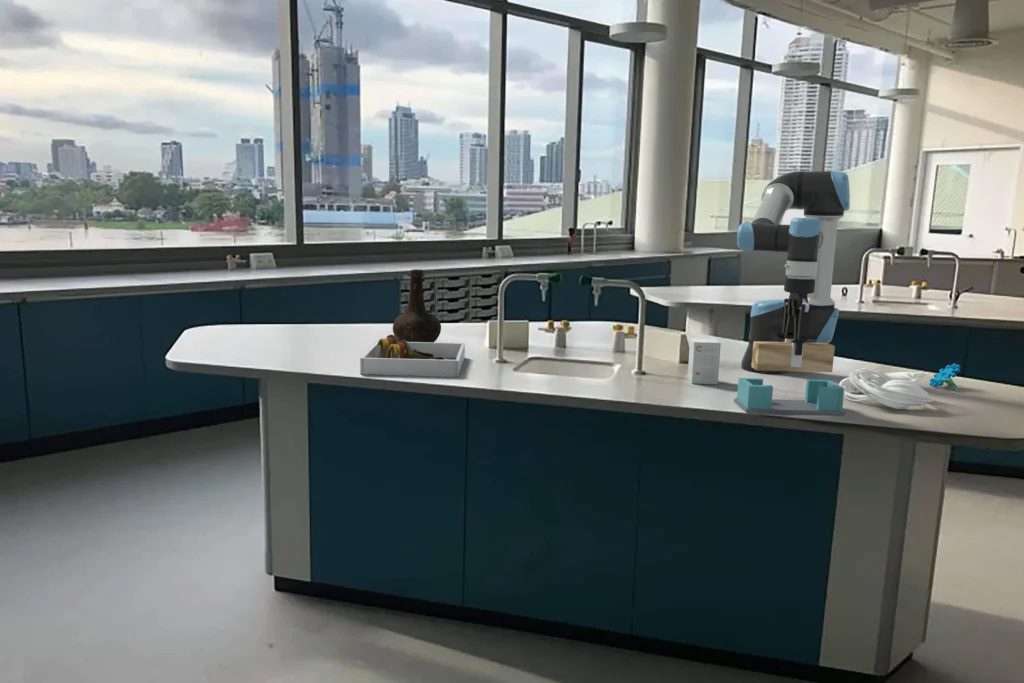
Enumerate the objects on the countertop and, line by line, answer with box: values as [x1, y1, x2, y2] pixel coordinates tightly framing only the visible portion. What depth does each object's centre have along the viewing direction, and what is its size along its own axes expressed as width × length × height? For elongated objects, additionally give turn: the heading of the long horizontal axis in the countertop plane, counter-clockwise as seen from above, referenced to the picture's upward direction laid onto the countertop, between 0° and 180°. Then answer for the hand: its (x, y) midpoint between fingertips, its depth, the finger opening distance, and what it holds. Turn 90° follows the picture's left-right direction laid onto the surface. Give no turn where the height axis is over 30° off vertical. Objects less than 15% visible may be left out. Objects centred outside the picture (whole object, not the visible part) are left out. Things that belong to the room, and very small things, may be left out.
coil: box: [838, 367, 934, 410], centre depth 213 cm, size 25×24×9 cm
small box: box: [687, 338, 722, 385], centre depth 231 cm, size 8×6×13 cm
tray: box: [359, 340, 466, 378], centre depth 244 cm, size 29×30×5 cm
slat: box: [751, 341, 836, 373], centre depth 201 cm, size 4×20×7 cm, turn 90°
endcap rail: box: [733, 377, 846, 416], centre depth 203 cm, size 11×26×7 cm, turn 90°
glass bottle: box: [392, 268, 442, 343], centre depth 277 cm, size 18×18×28 cm
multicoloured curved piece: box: [377, 334, 447, 360], centre depth 244 cm, size 24×24×10 cm
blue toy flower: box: [928, 362, 961, 391], centre depth 232 cm, size 11×6×10 cm
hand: (791, 364), depth 201 cm, fingers closed on slat, 4 cm apart
